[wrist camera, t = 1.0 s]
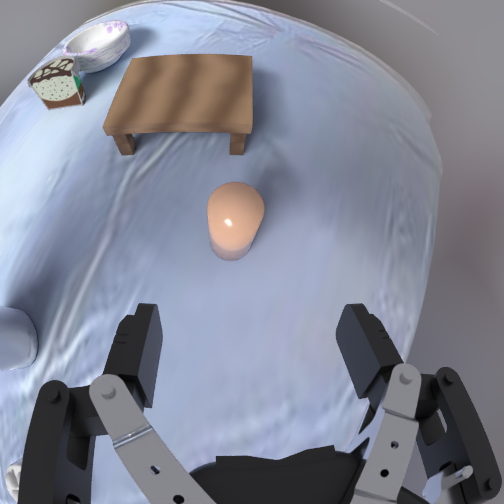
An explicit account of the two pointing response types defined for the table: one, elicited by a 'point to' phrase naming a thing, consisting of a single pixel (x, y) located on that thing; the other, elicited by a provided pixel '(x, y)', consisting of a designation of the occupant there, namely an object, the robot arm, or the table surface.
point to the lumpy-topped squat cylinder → (13, 478)
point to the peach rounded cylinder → (234, 219)
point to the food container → (58, 83)
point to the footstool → (183, 98)
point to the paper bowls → (99, 45)
